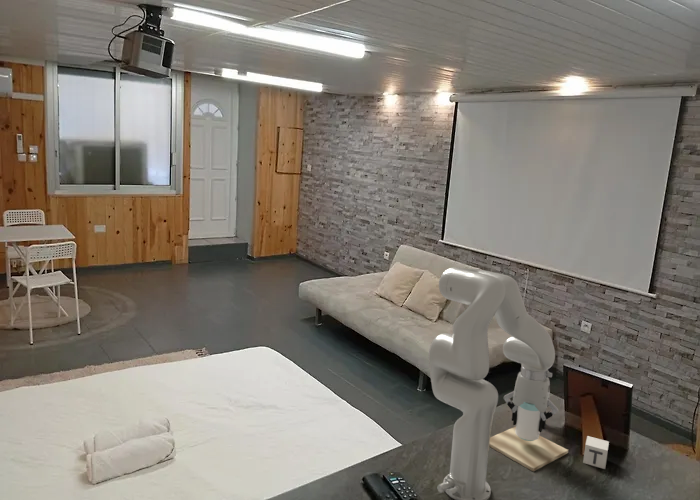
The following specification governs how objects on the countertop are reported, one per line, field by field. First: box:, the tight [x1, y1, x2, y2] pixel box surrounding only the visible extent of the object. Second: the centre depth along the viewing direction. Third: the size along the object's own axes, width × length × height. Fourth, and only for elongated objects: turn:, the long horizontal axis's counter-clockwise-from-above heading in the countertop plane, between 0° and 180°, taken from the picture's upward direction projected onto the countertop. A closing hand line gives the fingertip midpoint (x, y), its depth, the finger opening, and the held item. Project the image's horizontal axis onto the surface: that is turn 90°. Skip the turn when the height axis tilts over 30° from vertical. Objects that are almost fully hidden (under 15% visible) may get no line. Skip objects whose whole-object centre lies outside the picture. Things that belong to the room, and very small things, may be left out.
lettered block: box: [582, 435, 610, 470], centre depth 158 cm, size 6×6×6 cm
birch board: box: [489, 425, 569, 472], centre depth 164 cm, size 18×18×1 cm
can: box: [515, 402, 541, 441], centre depth 162 cm, size 7×7×12 cm
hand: (527, 426), depth 163 cm, fingers closed on can, 7 cm apart
